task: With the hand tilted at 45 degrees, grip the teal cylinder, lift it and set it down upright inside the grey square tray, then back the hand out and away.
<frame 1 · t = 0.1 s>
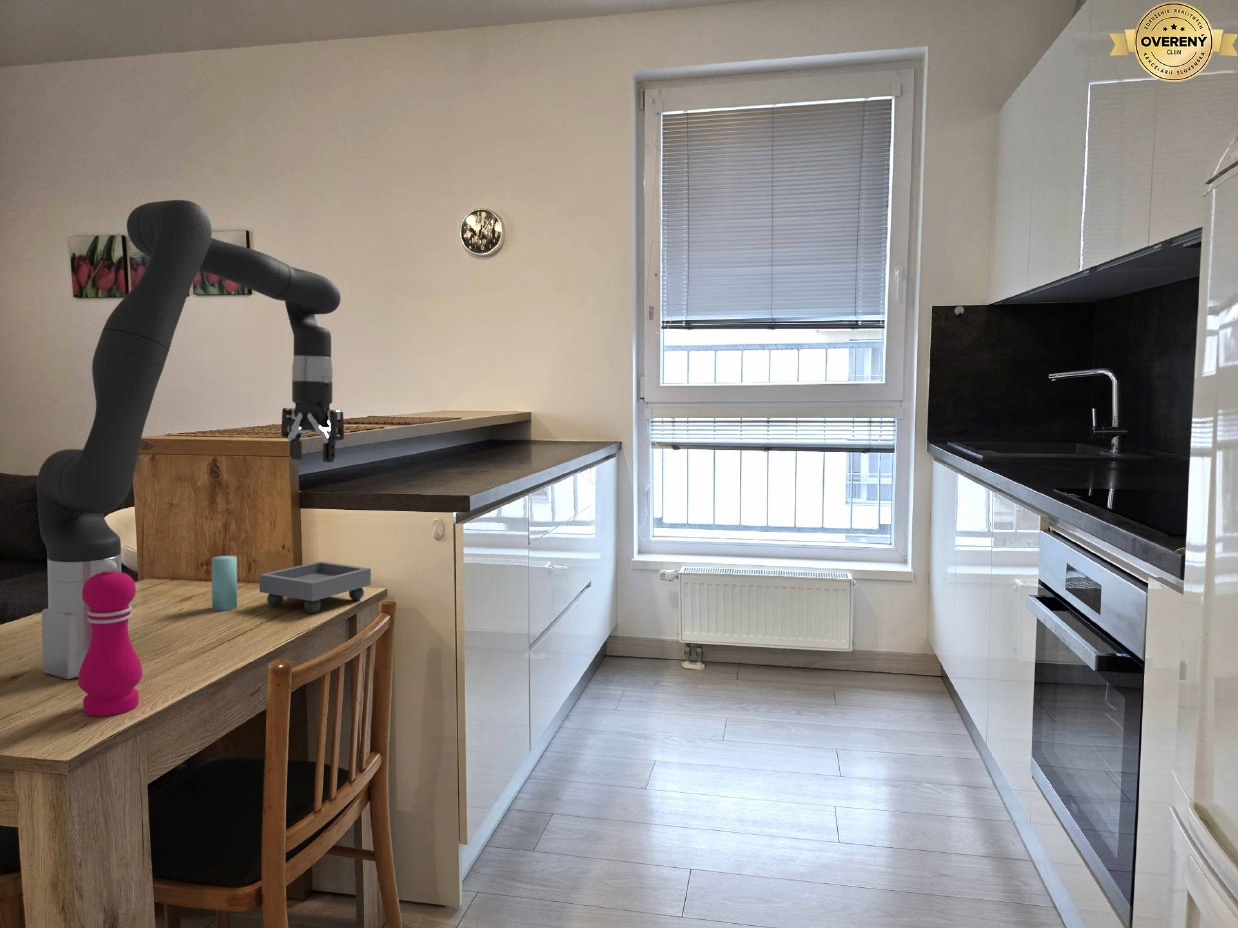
hand: (312, 460, 160), 29 cm above the table, tool pointing down, fingers open, 8 cm apart
grey square tray: (316, 602, 163), on the table
pepper mill: (111, 709, 106), on the table
teal cylinder: (224, 608, 157), on the table
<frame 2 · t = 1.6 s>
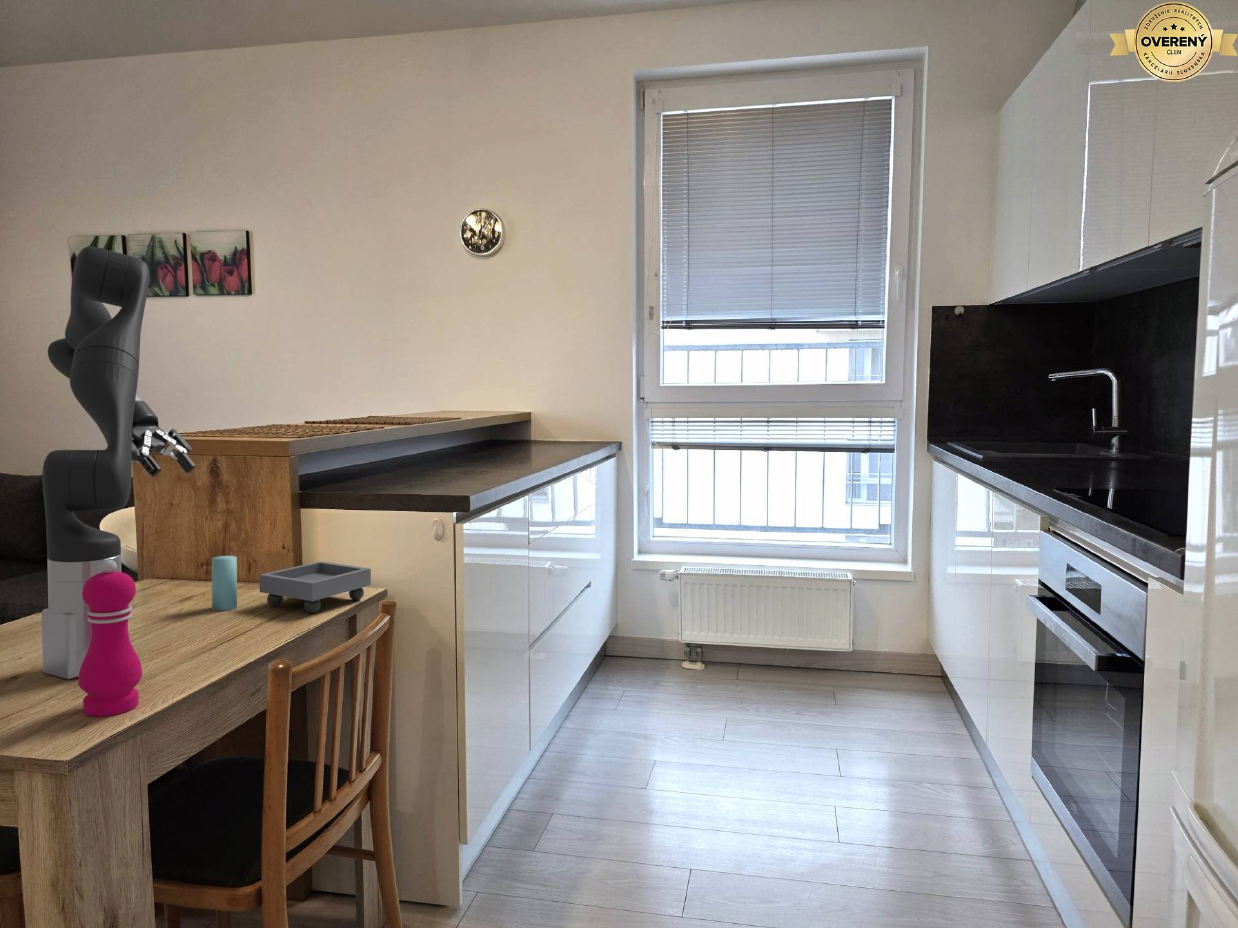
hand: (174, 471, 158), 26 cm above the table, tool tilted 45°, fingers open, 8 cm apart
nothing on the table moved.
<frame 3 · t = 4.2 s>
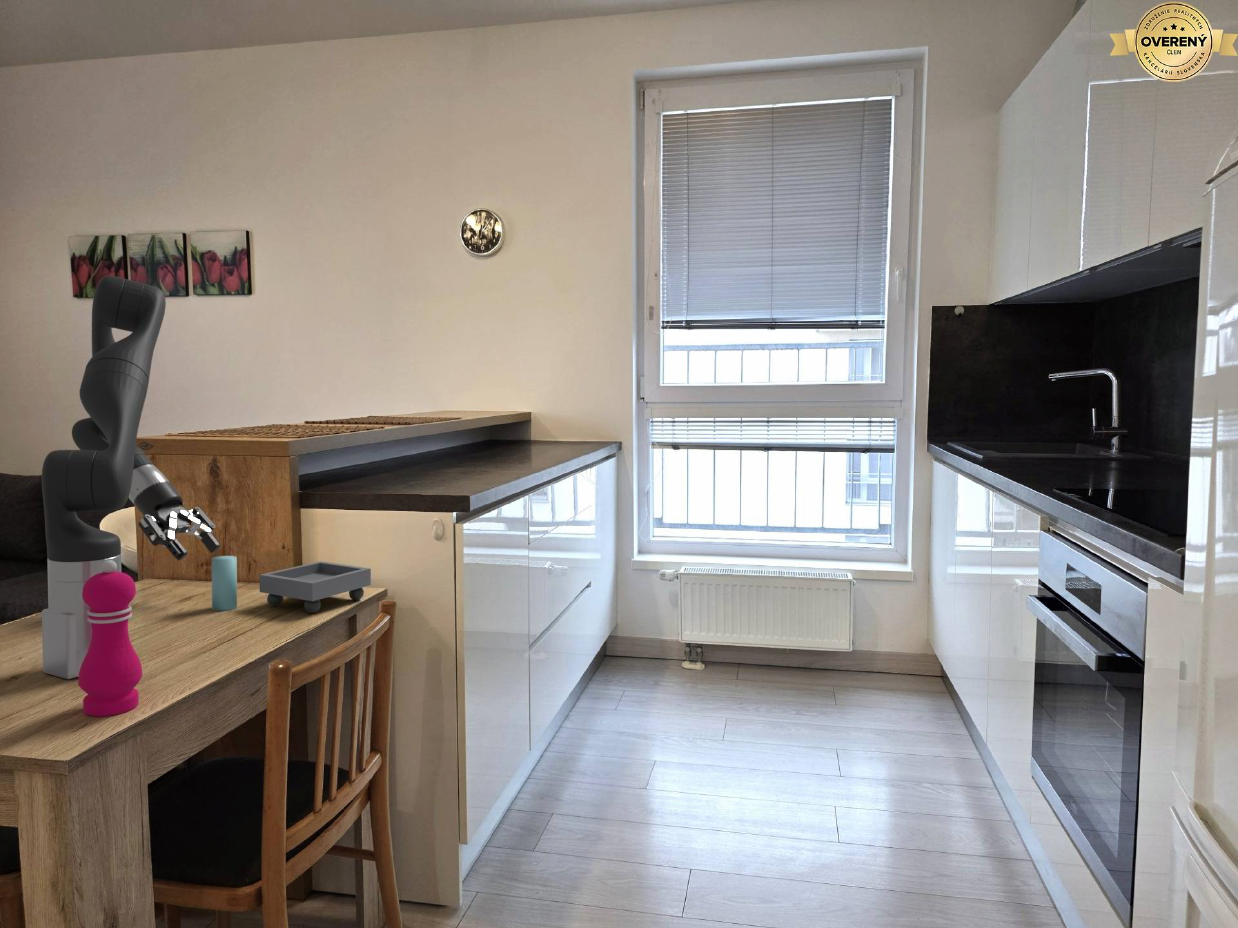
hand: (200, 553, 157), 10 cm above the table, tool tilted 45°, fingers open, 8 cm apart
nothing on the table moved.
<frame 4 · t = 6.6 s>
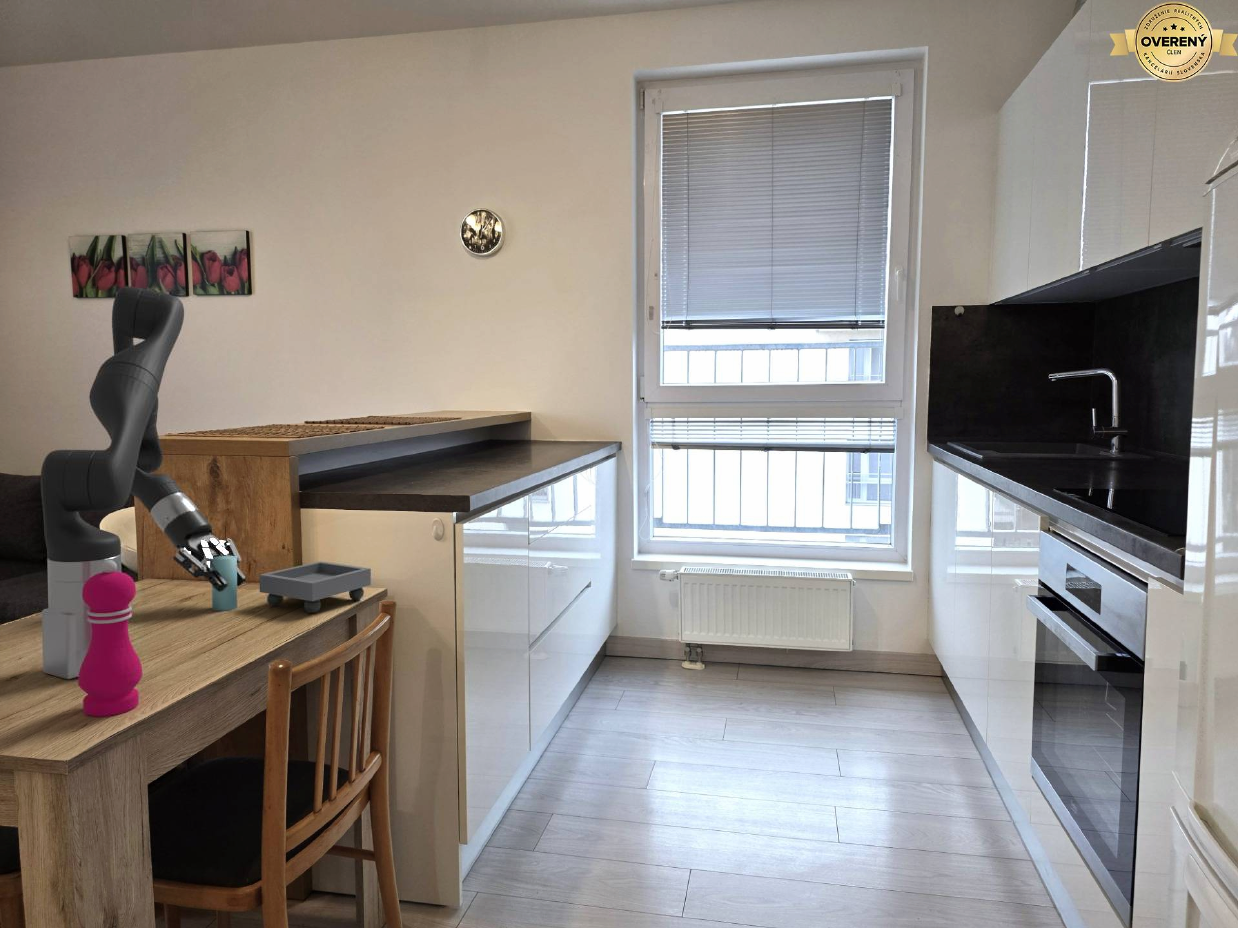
hand: (232, 585, 156), 5 cm above the table, tool tilted 45°, fingers closed on teal cylinder, 4 cm apart
teal cylinder: (224, 607, 157), on the table, touching gripper
everything else where it was.
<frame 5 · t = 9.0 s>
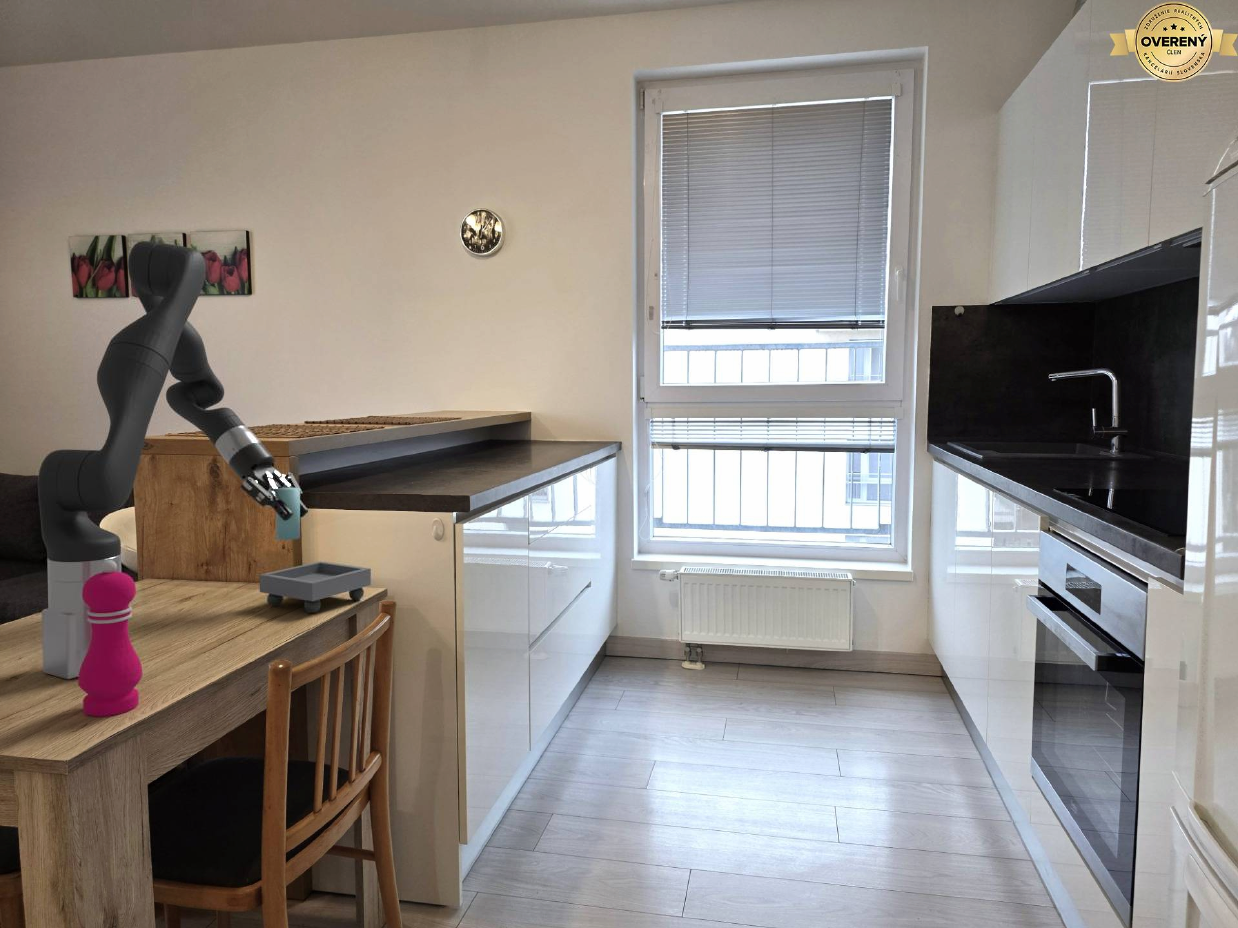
hand: (296, 515, 160), 18 cm above the table, tool tilted 45°, fingers closed on teal cylinder, 4 cm apart
teal cylinder: (288, 537, 160), point 14 cm above the table, touching gripper
everything else where it was.
when the fingers open (11 cm above the table, at t = 11.6 s): teal cylinder drops 1 cm, resting on grey square tray.
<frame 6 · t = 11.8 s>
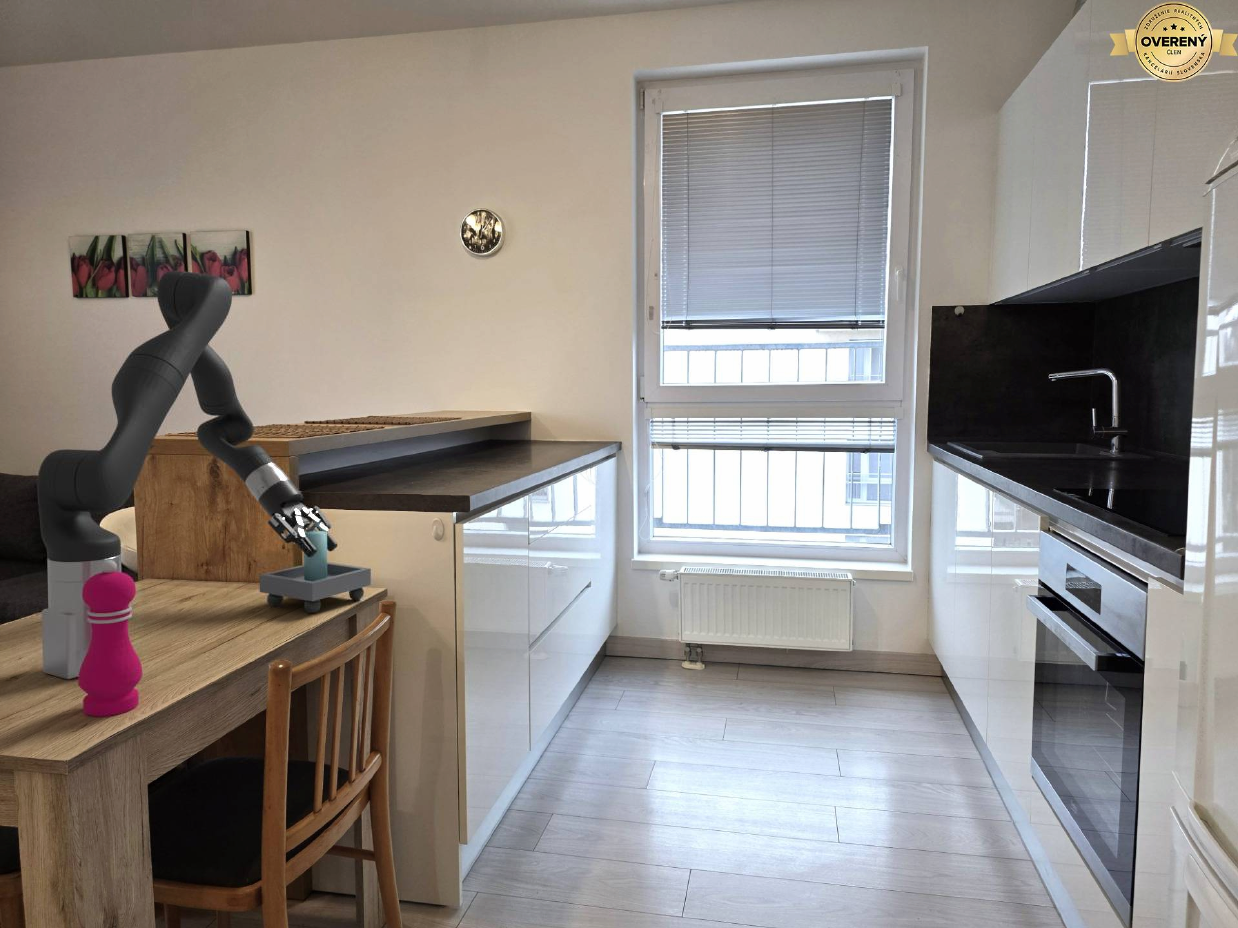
hand: (323, 551, 162), 11 cm above the table, tool tilted 45°, fingers open, 6 cm apart
teal cylinder: (315, 581, 162), point 5 cm above the table, touching grey square tray
everything else where it was.
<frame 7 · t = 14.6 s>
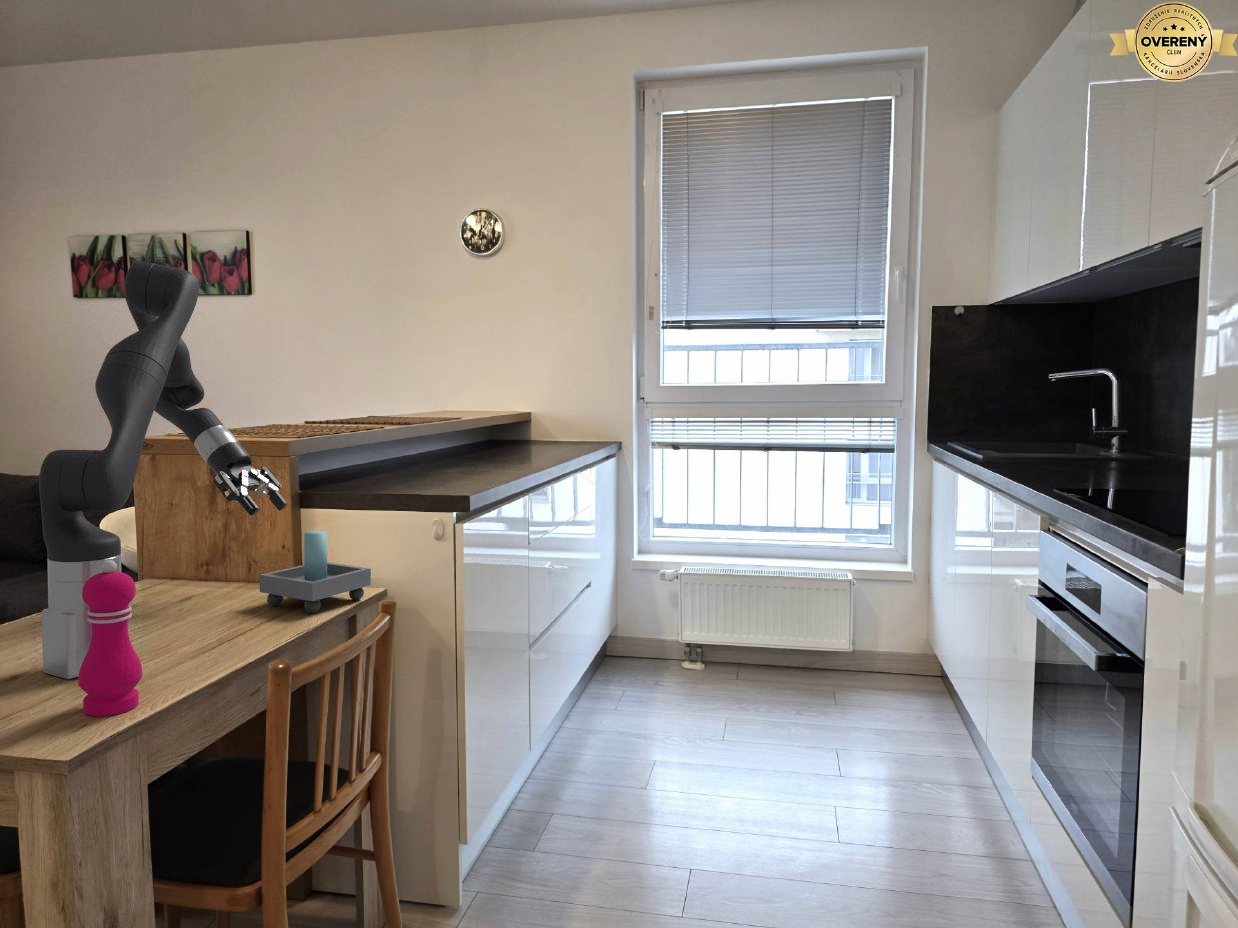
hand: (269, 510, 164), 18 cm above the table, tool tilted 45°, fingers open, 8 cm apart
nothing on the table moved.
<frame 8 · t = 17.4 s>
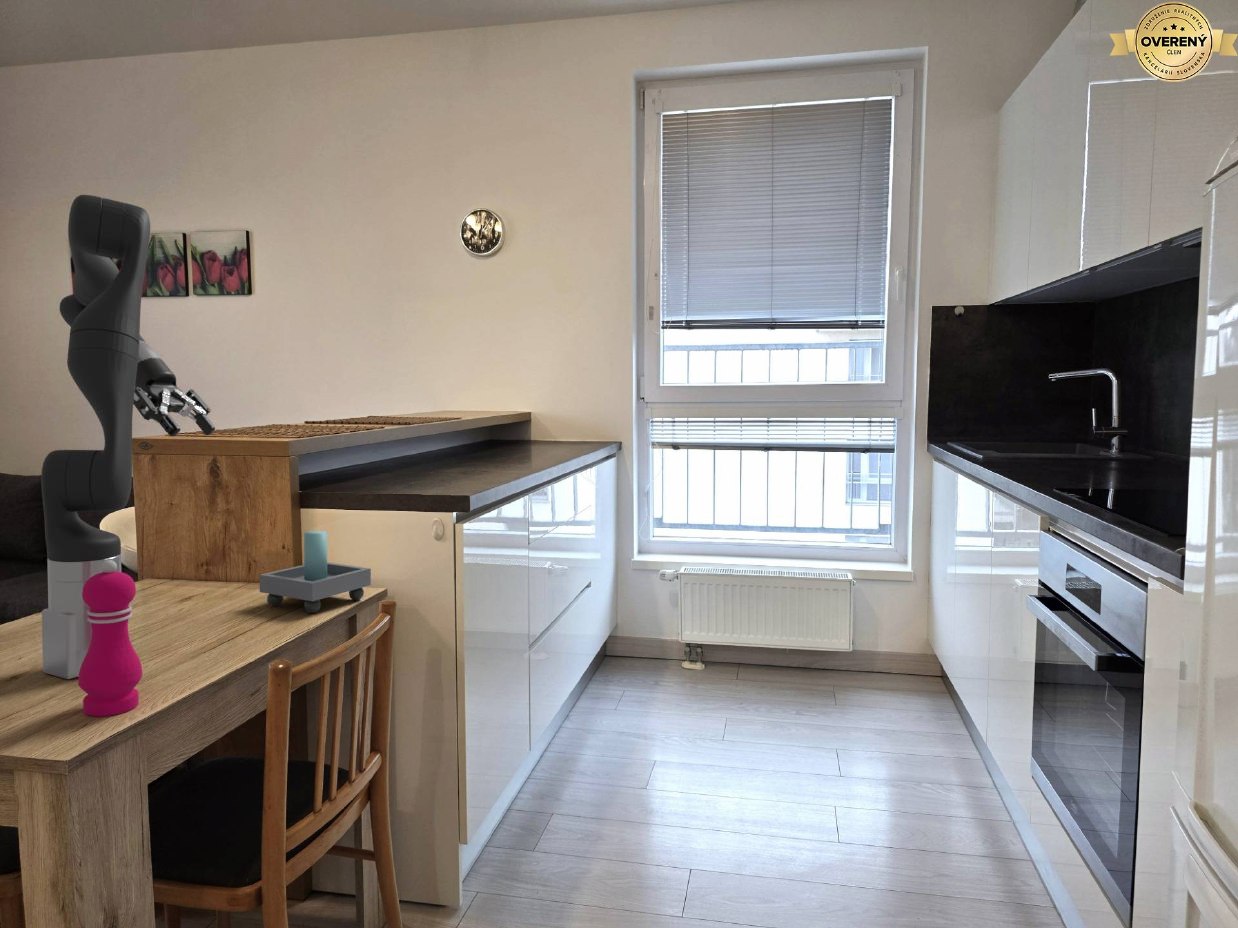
hand: (194, 432, 149), 35 cm above the table, tool tilted 45°, fingers open, 8 cm apart
nothing on the table moved.
at the end: teal cylinder inside the target area on the grey square tray (0.1 cm from its centre), point 4.5 cm above the grey square tray's base; teal cylinder tilted 1°; the gripper is holding nothing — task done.
